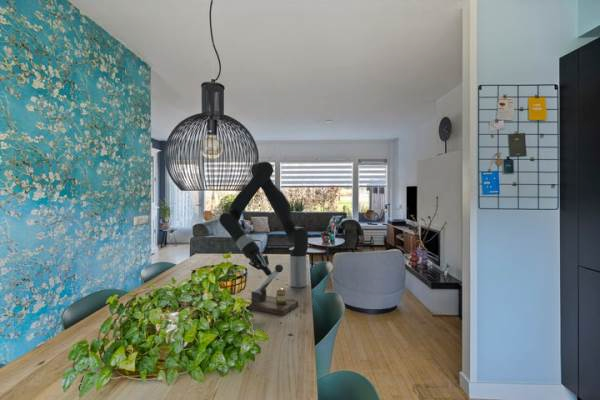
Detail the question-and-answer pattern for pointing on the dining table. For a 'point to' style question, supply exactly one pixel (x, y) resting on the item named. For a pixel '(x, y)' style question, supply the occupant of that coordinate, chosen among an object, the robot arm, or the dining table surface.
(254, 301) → the press base
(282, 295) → the tan rounded cylinder
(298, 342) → the dining table surface
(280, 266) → the lever
